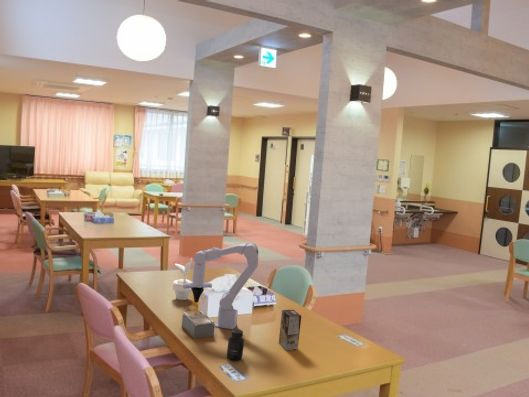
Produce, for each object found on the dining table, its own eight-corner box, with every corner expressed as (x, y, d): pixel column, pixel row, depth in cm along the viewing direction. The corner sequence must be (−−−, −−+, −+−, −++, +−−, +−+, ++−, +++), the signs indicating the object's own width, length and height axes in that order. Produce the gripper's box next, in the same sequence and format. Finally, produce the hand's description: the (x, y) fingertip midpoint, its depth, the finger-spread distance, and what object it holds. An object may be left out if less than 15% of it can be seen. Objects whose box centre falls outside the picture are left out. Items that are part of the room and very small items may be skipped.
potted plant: (196, 299, 284) (200, 256, 282) (182, 303, 274) (186, 259, 272) (179, 294, 291) (183, 252, 289) (166, 297, 281) (169, 255, 279)
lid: (191, 319, 233) (192, 315, 232) (205, 318, 236) (206, 313, 236) (197, 325, 227) (197, 320, 226) (211, 323, 230) (211, 318, 230)
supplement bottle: (230, 362, 204) (232, 334, 203) (223, 355, 210) (226, 328, 209) (245, 360, 207) (247, 333, 206) (238, 354, 213) (241, 327, 212)
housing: (181, 326, 240) (182, 312, 239) (200, 324, 245) (201, 310, 244) (193, 338, 226) (195, 323, 225) (213, 336, 231) (215, 321, 230)
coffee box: (298, 349, 225) (302, 315, 224) (285, 350, 223) (289, 316, 221) (290, 342, 233) (293, 309, 232) (277, 342, 231) (281, 309, 230)
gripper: (187, 277, 238) (184, 305, 239) (215, 277, 245) (212, 303, 246) (182, 274, 244) (180, 300, 245) (210, 273, 251) (207, 299, 252)
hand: (196, 301), depth 246 cm, fingers closed
